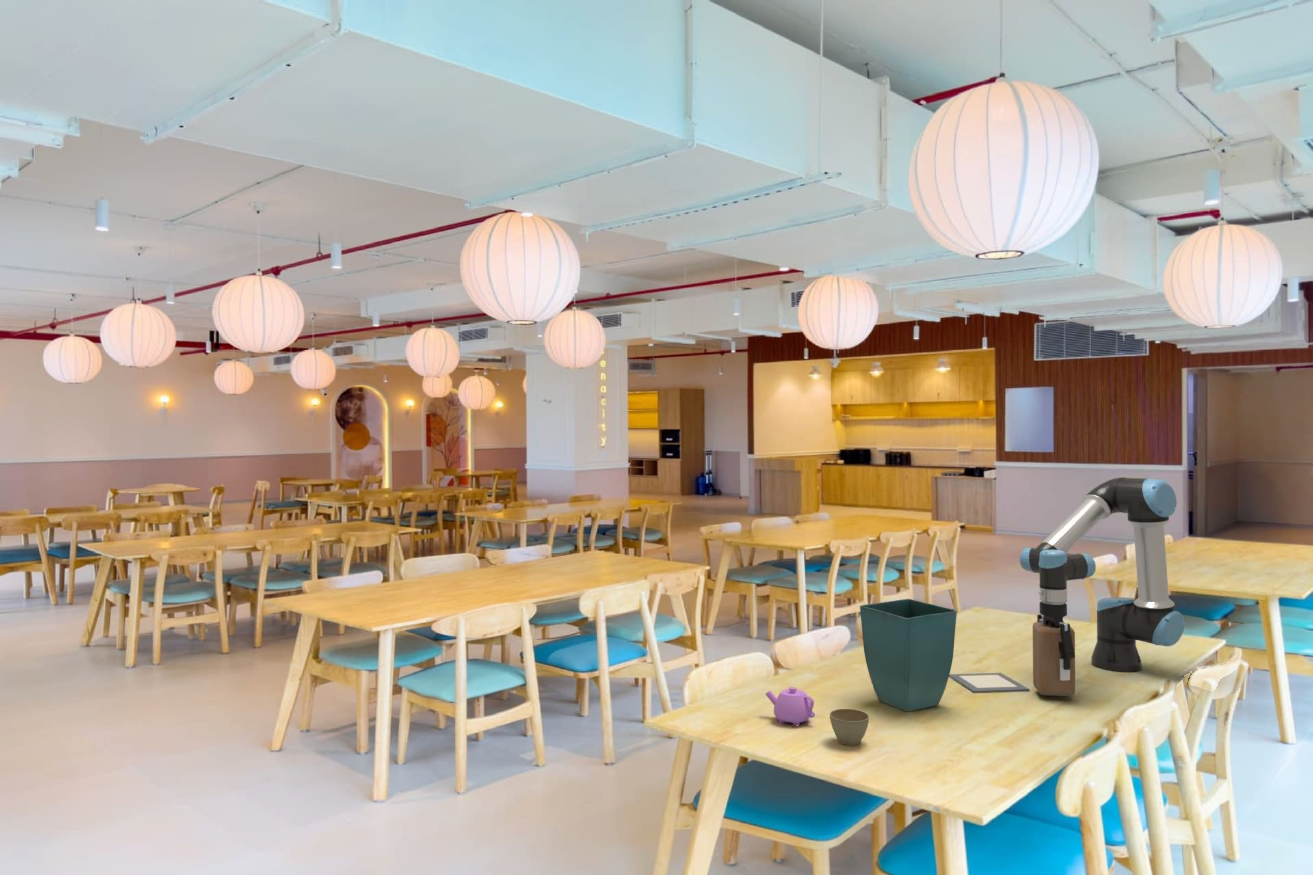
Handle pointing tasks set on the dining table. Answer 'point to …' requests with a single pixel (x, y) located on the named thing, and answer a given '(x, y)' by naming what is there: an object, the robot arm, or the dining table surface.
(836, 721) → the bowl
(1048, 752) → the dining table surface
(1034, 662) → the wooden block
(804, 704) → the teapot
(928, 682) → the flower pot
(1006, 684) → the mat
